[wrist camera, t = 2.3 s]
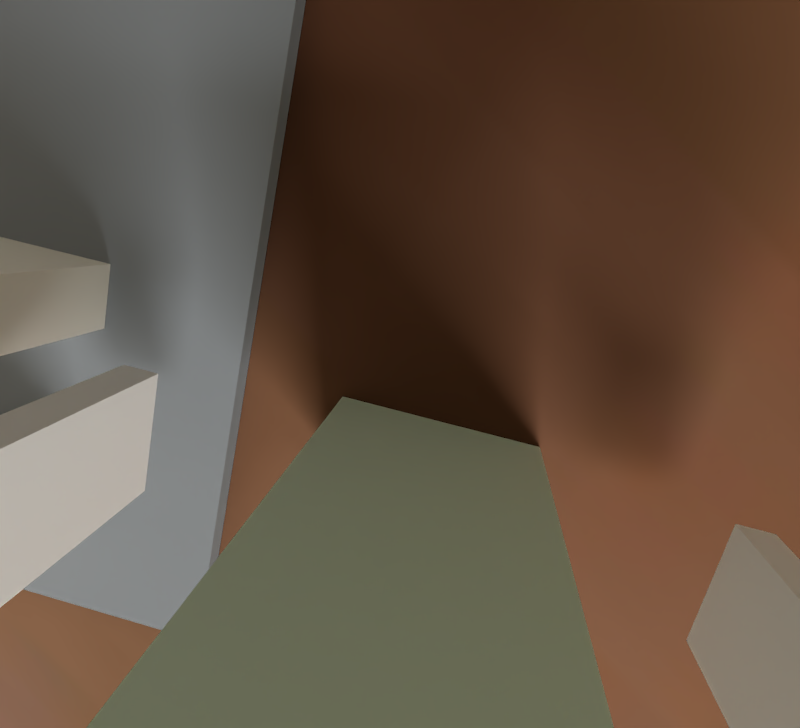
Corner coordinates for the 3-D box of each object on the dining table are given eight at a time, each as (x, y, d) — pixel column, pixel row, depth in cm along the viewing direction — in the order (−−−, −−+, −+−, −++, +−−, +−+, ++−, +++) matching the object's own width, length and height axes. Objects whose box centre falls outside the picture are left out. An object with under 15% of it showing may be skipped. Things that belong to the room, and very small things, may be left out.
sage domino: (342, 396, 15) (74, 742, 5) (539, 446, 14) (665, 928, 5) (331, 453, 15) (62, 877, 5) (521, 504, 15) (604, 1056, 5)
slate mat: (-230, -868, 10) (-273, -934, 10) (431, -801, 9) (429, -868, 9) (-167, 516, 18) (-189, 526, 17) (207, 626, 17) (197, 640, 16)
